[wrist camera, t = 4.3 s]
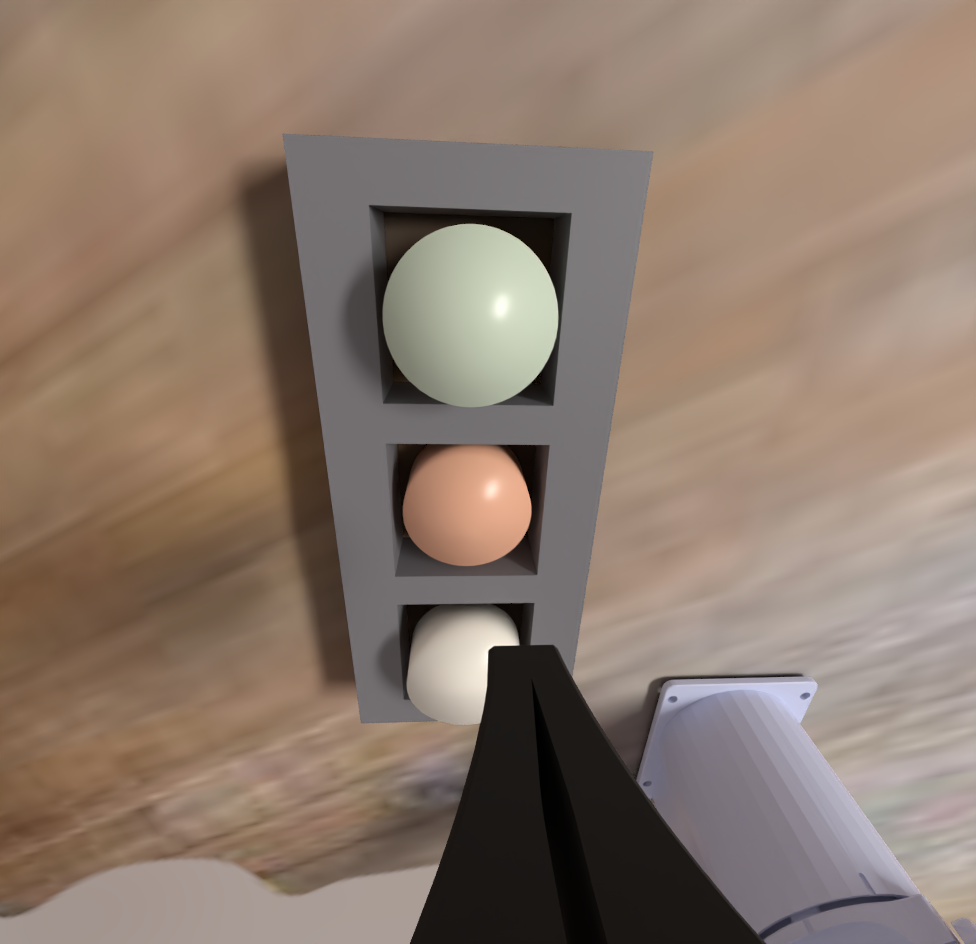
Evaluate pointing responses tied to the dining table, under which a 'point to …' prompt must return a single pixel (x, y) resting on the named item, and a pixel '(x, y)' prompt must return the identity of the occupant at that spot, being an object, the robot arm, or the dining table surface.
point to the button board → (424, 420)
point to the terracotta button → (466, 503)
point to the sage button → (470, 315)
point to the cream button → (455, 659)
